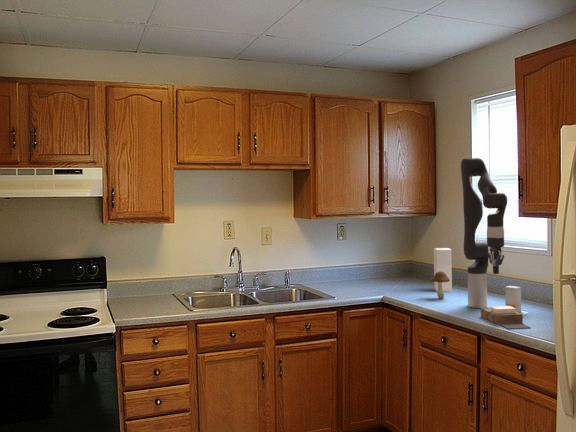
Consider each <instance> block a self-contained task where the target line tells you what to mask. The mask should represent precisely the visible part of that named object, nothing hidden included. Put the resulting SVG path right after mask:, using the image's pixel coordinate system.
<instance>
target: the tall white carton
mask: <svg viewBox="0 0 576 432" xmlns="http://www.w3.org/2000/svg"><path fill="white" fill-rule="evenodd" d="M452 266H453V265H452V249H451V248H449V247H434V248H433V276H435V274H436V273H437V272H444V273H445V274H446V275H447V277H448V278H449V279H450V281H449V282H442V289H443V292H445V293H448V292H451V293H452V292H453V273H452V272H453V271H452V269H453V268H452ZM433 288H434V290H435V292H437V290H438V282H434V281H433Z"/></svg>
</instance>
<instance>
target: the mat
mask: <svg viewBox="0 0 576 432" xmlns="http://www.w3.org/2000/svg"><path fill="white" fill-rule="evenodd" d="M498 325H500V327H502V328H505V329H507V330H520V329H525V330H526V329H531V327H530V326H528V325H526V324H525V323H503V324H498Z"/></svg>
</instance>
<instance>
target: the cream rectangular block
mask: <svg viewBox="0 0 576 432" xmlns="http://www.w3.org/2000/svg"><path fill="white" fill-rule="evenodd" d="M489 308H490V309H491V311H492V312H494V313H496V314H504V313H516V308H513V307H511V306H506V305H500V306H496V305H495V306H490V307H489Z"/></svg>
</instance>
